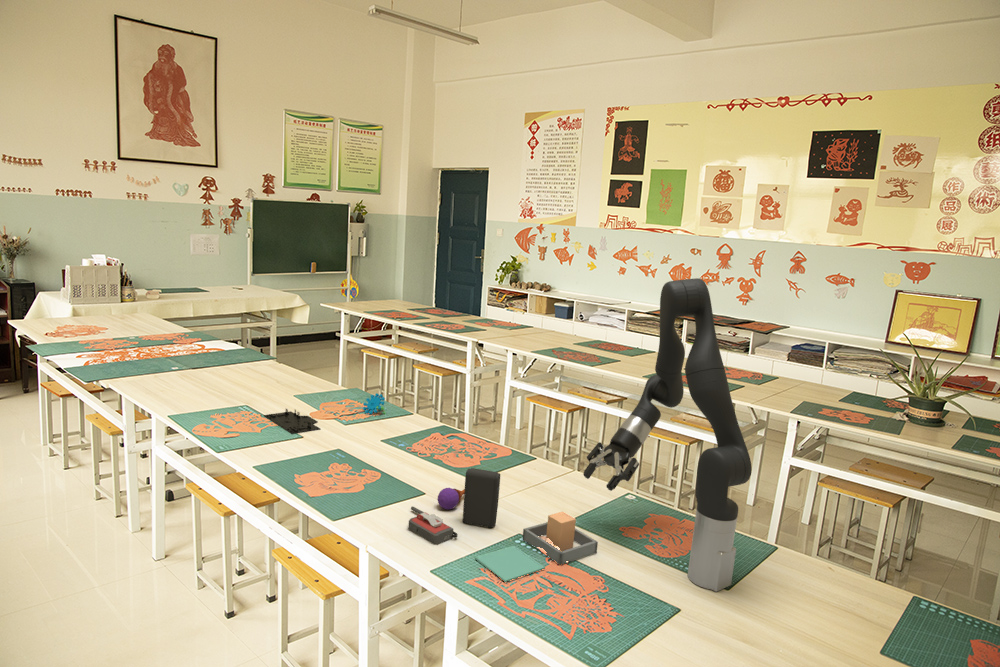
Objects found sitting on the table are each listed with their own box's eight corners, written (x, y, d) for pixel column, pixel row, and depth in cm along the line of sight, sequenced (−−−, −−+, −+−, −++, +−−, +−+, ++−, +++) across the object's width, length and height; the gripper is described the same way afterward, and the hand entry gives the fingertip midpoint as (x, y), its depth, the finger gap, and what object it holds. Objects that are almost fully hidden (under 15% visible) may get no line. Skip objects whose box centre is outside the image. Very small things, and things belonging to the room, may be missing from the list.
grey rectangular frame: (596, 552, 164) (597, 541, 163) (560, 565, 156) (561, 553, 156) (558, 529, 175) (559, 518, 175) (522, 539, 168) (523, 528, 167)
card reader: (497, 523, 176) (502, 471, 173) (494, 529, 172) (498, 476, 169) (465, 517, 178) (469, 466, 175) (461, 523, 174) (465, 471, 171)
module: (572, 548, 165) (575, 519, 164) (558, 552, 162) (561, 523, 161) (559, 539, 169) (562, 511, 168) (545, 544, 166) (548, 515, 165)
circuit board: (263, 417, 251) (263, 409, 250) (298, 412, 261) (298, 405, 260) (292, 435, 233) (292, 427, 232) (328, 429, 243) (328, 421, 242)
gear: (357, 406, 267) (374, 389, 271) (364, 414, 271) (381, 396, 275) (372, 417, 260) (389, 398, 263) (379, 424, 264) (396, 406, 267)
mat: (544, 569, 154) (545, 567, 154) (505, 583, 146) (505, 580, 146) (513, 547, 163) (513, 545, 163) (475, 559, 156) (475, 557, 156)
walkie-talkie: (463, 538, 167) (414, 511, 180) (464, 522, 166) (415, 496, 179) (438, 548, 160) (389, 519, 173) (439, 532, 159) (389, 504, 173)
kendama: (491, 480, 195) (453, 496, 178) (485, 498, 196) (447, 515, 179) (475, 472, 198) (436, 486, 181) (470, 489, 199) (431, 505, 182)
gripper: (606, 420, 179) (572, 465, 174) (646, 435, 168) (610, 485, 163) (617, 435, 183) (584, 480, 178) (656, 452, 172) (622, 500, 167)
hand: (596, 482), depth 171 cm, fingers open, 8 cm apart
